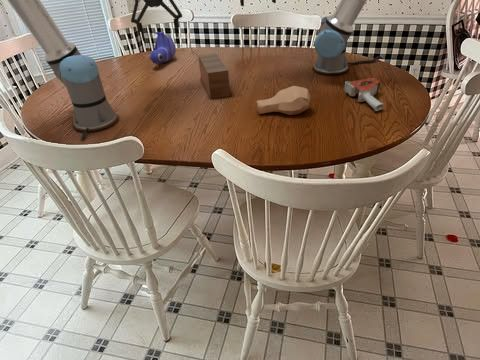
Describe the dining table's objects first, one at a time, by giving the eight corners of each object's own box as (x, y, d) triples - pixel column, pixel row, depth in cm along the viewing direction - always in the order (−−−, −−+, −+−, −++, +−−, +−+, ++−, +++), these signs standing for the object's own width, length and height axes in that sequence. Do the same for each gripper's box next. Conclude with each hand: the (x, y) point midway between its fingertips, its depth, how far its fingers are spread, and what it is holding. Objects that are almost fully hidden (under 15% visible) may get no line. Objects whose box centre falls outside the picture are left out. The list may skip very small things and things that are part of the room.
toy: (164, 64, 198) (143, 70, 176) (159, 31, 191) (137, 33, 169) (180, 63, 196) (162, 69, 173) (176, 30, 189) (156, 32, 167)
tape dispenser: (379, 117, 128) (393, 93, 140) (382, 104, 124) (396, 81, 137) (332, 106, 135) (349, 84, 148) (334, 93, 132) (351, 72, 144)
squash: (314, 116, 128) (313, 95, 122) (259, 125, 130) (256, 105, 124) (308, 99, 136) (307, 78, 129) (257, 108, 138) (253, 88, 131)
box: (230, 96, 147) (228, 70, 140) (210, 99, 145) (207, 73, 139) (218, 76, 166) (216, 53, 160) (201, 79, 165) (198, 55, 158)
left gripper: (182, -25, 138) (190, 32, 151) (116, -19, 135) (130, 39, 148) (183, -23, 132) (191, 37, 145) (115, -16, 129) (129, 44, 142)
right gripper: (284, -61, 139) (283, -1, 151) (222, -56, 135) (226, 5, 147) (291, -60, 133) (289, 2, 145) (226, -55, 129) (230, 8, 141)
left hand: (160, 38), depth 146 cm, fingers open, 13 cm apart
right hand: (258, 4), depth 146 cm, fingers open, 13 cm apart
